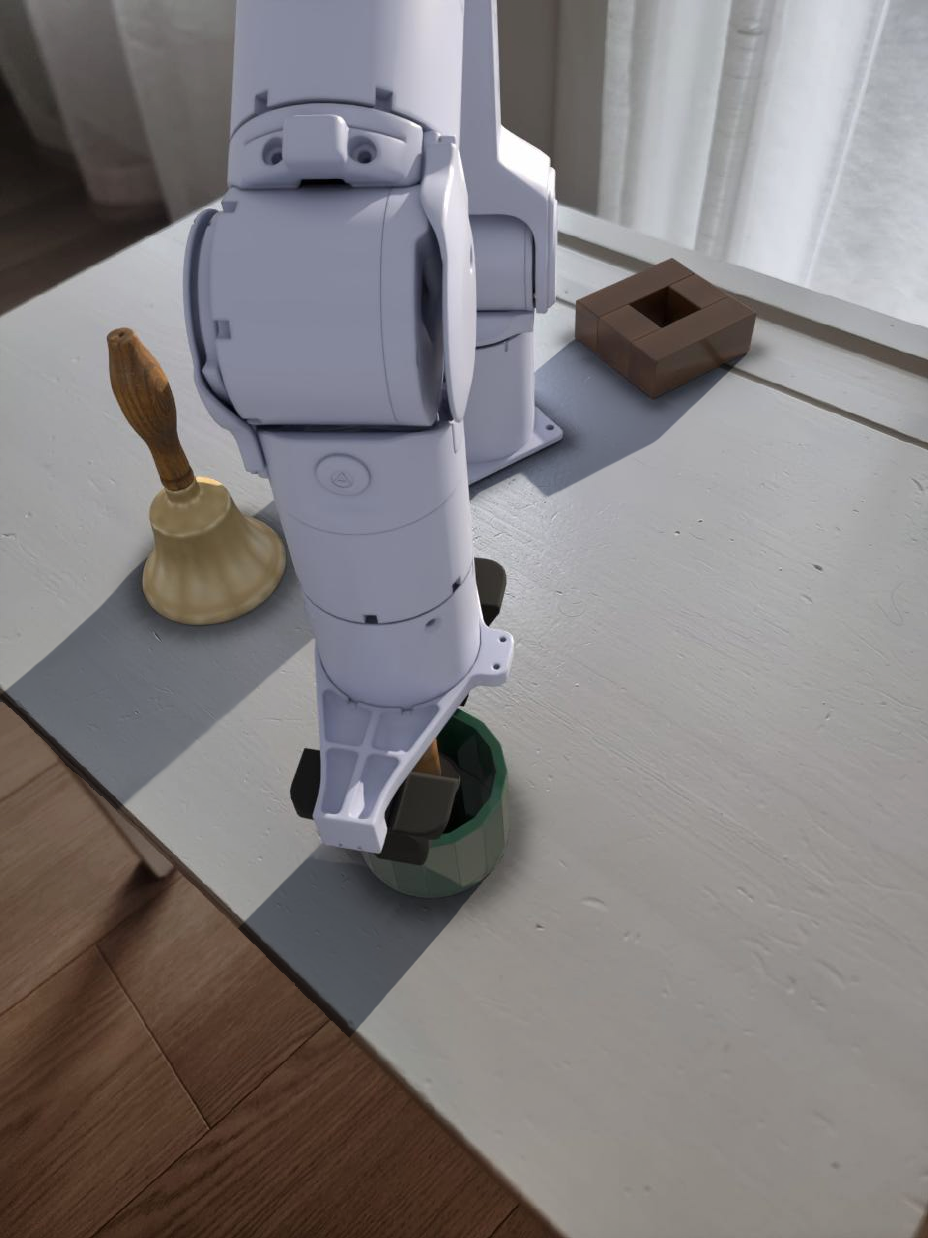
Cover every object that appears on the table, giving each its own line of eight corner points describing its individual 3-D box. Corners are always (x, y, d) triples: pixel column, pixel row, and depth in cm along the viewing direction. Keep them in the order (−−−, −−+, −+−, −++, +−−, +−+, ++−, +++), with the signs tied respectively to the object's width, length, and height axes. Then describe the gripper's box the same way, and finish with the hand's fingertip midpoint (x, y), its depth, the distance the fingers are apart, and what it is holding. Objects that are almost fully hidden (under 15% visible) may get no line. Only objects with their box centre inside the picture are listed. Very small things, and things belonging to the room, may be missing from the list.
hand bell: (139, 637, 55) (21, 406, 42) (146, 530, 60) (43, 296, 47) (290, 613, 55) (217, 377, 43) (283, 509, 60) (217, 272, 48)
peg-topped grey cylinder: (394, 815, 46) (369, 714, 40) (445, 785, 47) (429, 681, 40) (425, 861, 45) (405, 764, 38) (477, 829, 46) (466, 728, 39)
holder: (574, 337, 69) (575, 300, 67) (667, 294, 72) (672, 256, 69) (652, 399, 65) (656, 361, 62) (749, 351, 67) (757, 312, 65)
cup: (332, 809, 47) (313, 755, 43) (456, 737, 49) (449, 678, 45) (408, 928, 43) (394, 880, 39) (539, 844, 45) (538, 790, 42)
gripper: (458, 769, 27) (482, 954, 37) (544, 419, 36) (544, 649, 46) (214, 731, 28) (303, 920, 39) (355, 402, 37) (397, 630, 47)
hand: (423, 771), depth 42 cm, fingers open, 7 cm apart
